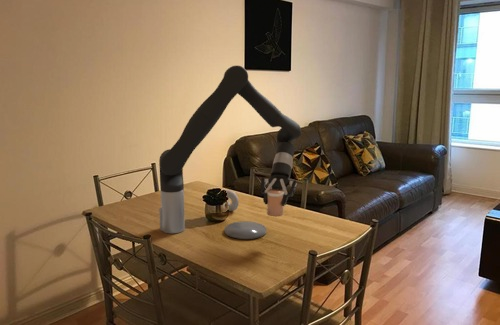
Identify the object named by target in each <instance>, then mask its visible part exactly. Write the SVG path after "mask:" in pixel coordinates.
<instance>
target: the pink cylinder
mask: <svg viewBox="0 0 500 325" xmlns="http://www.w3.org/2000/svg"><path fill="white" fill-rule="evenodd" d="M267 195H268V196H267V204H266V207H267V208H266V214H267V215H268V216H270V217H276V218H277V217H281V216H283V215H284V206H282V200H283V195H284V191H283V190H281V189H269V190H268V191H267Z"/></svg>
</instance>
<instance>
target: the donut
mask: <svg viewBox="0 0 500 325" xmlns="http://www.w3.org/2000/svg"><path fill="white" fill-rule="evenodd" d="M225 191H226V193H227V197H228V199H230V201H231V203H230V201H229V200H228V206H229V212H233V211H236V210H237V209H238V207H239V203H240V201H239V200H240V199H239V197H238V195H237V193H236V192H234V191H233V190H230V189H229V190H225Z"/></svg>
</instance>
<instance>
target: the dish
mask: <svg viewBox="0 0 500 325" xmlns="http://www.w3.org/2000/svg"><path fill="white" fill-rule="evenodd" d="M266 233H267V227H266V226H265V225H263V223H259V222H255V221H247V220H246V221H245V220H244V221H243V220H242V221H236V222H232V223H228V224H227V225H225V227H224V234H225V235H226V236H228V237H229V238H232V239H238V240H239V239H240V240H252V239H258V238H261V237H263V236H265V234H266ZM266 235H267V234H266Z"/></svg>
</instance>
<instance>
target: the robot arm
mask: <svg viewBox="0 0 500 325" xmlns="http://www.w3.org/2000/svg"><path fill="white" fill-rule="evenodd" d="M237 95H239V96H240V97H241V98H243V100H245V102H247V103H248V104H249V105H250V107H252V108H253V109H254V110H255V111H256V113H257V114H259V116H260V117H261V118H262V119H263V120H264V121H265V123H267V124H268V125H269V126H270V127H271V128H276V127H279V128H280V129H279V130H278V131H277V134H276V146H277V147H276V152H275V153H276V154H275V156H274V158H273V162H272V168H271V172H270V176H269V177H268V178H265V177H261V179H260V180H261V182H260V192H261V194H262V195H263V198H262V200H263V203H264V205H267V196H268V195H267V191H268V190H269V189H281V190H283V191H284V195H283V200H282V206H283V207H285V206H286V205H287V202H288V199H289V198H290V197H291V198H293V197H294V195H295V191H296V188H297V187H298V183H297V181H296V180H291V179H290V178H291V174H292V169H293V164H294V162H293V161H294V155H295V145H294V144H293V143H292V142H294V141H295V140H297V139H299V138H300V137H301V136H302V132H303V131H302V128H301V126H300V124H299V123H298V122H296V121H295V120H294V119H292V118H290V117H289V116H287V115H285V114H284V113H282V112H281V110H279V108H278V107H277V106H276V105H274V104H273V103H272V102H271V101H270V100H269V99H268V98H267V97H266V96H264V95H263V94H262V93H261V92H260V91H259V90H258V89H256V88H255V87H254V85H253V84H252V82H251V81H250V80H249V73H248V71H247V69H246V68H245V67H244V66H241V65H231V66H230V67H229V68H227V69H226V70H225V72H224V74H223V77H222V79H221V81H220V82H219V84H218V85H217V87H216V89H215V90H214V91H213V92H212V93H211V94H210V95H209V96H208V97H207V98H206V99H205V100H204V101H203V102H202V103H201V104H200V105H199V107H197V108H196V110H195V112H194V113H193V114H192V115H191V116H190V118H189V120H188V122H187V123H186V124H185V126H184V128H183V131H182V133H181V135H180V137H179V138H178V139H177V141H176V142H175V143H174V144H173V146H172V147H171V148H170V149H166V150H164V151H162V153H161V154H160V156H159V164H158V165H159V183H160V186H159V187H160V205H161V206H160V207H159V210H158V212H159V231H161V232H163V233H165V234H179V233H182V232H184V231H185V229H186V226H185V225H186V224H185V195H184V194H185V193H184V192H185V190H184V189H185V186H184V176H183V175H184V173H183V170H184V169H183V168H184V166H185V165H186V164H187V161H188V160H189V158H190V157H191V155H192V154H193V152H194V151H195V149H197V147H198V146H199V145H200V144H201V143H202V142H203V140H204V139H205V138H206V137H207V136H208V134H210V132H211V131H212V129H213V128H214V126H215V125H216V124H217V122H218V121H219V119H220V118H222V117H221V116H222V115H223V114H224V112H225V111H226V108H227V107H228V106H229V104H230V103H231V102H232V100H233V99H234V98H235V97H236V96H237ZM268 183H269V184H268ZM266 185H268V186H267V188H266ZM288 186H290V188H289V191H287V187H288Z"/></svg>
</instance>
